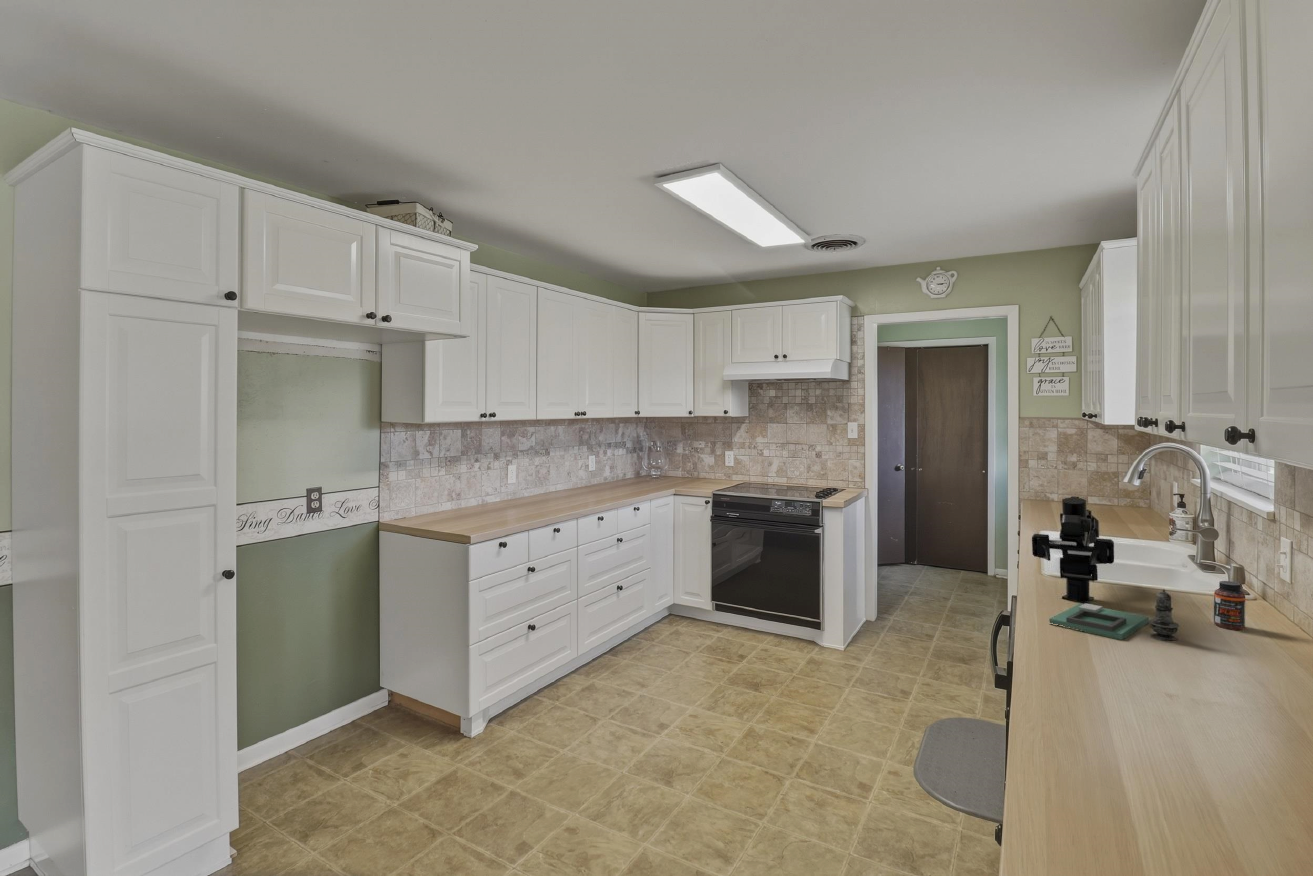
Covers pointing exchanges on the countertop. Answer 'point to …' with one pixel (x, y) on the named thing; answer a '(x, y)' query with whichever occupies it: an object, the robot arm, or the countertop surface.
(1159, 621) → the weathered stone pawn
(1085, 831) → the countertop surface
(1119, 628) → the socket board
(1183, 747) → the countertop surface
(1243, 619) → the supplement bottle
